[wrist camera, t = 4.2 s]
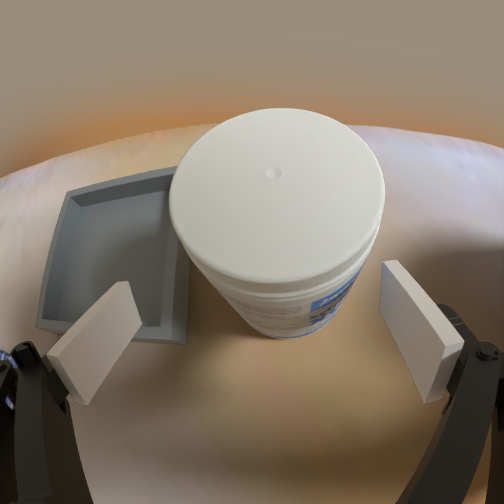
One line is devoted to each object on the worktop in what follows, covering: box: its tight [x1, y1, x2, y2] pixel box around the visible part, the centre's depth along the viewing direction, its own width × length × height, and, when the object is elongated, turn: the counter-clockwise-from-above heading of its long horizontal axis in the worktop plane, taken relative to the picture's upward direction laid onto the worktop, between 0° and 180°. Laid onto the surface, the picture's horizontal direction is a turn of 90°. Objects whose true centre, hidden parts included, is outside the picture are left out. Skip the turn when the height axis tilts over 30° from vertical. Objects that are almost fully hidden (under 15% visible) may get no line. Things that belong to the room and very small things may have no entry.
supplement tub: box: [169, 108, 385, 339], centre depth 18 cm, size 10×10×15 cm
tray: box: [36, 166, 191, 344], centre depth 27 cm, size 17×17×3 cm
